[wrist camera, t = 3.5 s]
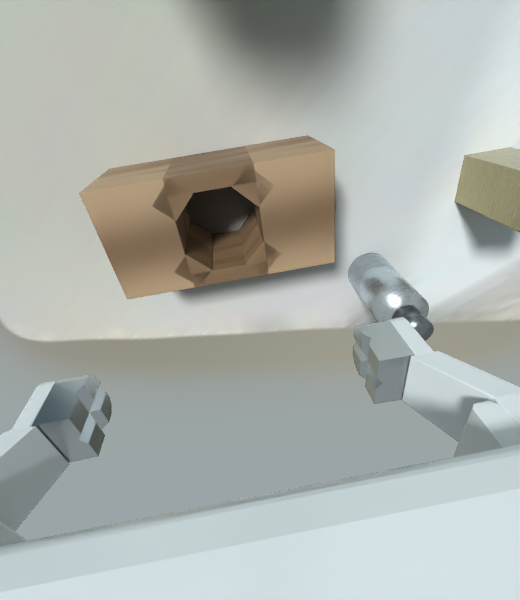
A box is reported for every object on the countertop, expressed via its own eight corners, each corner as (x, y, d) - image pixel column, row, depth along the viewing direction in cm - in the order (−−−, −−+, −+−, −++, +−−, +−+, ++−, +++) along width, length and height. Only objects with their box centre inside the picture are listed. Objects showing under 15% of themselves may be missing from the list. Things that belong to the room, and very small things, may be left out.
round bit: (348, 256, 28) (396, 317, 21) (387, 249, 28) (450, 307, 21) (347, 290, 30) (391, 356, 23) (384, 283, 30) (439, 347, 23)
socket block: (109, 169, 22) (79, 193, 17) (307, 135, 22) (334, 149, 17) (143, 258, 26) (127, 299, 21) (311, 229, 26) (334, 262, 21)
